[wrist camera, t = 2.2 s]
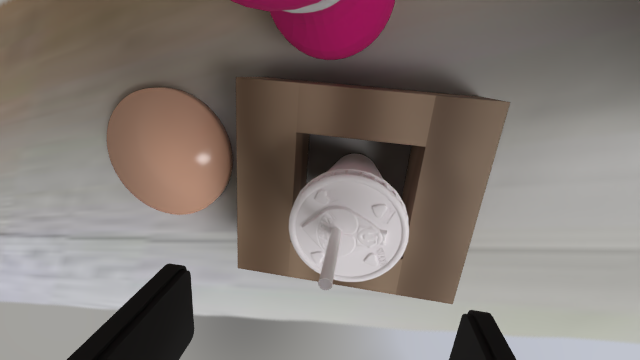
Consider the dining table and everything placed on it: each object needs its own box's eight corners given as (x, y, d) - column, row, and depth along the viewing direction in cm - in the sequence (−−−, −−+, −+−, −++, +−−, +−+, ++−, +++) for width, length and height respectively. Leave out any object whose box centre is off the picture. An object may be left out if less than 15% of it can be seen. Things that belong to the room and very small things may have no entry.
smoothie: (319, 132, 24) (260, 200, 11) (401, 140, 23) (442, 224, 10) (313, 206, 26) (259, 335, 13) (388, 215, 26) (410, 363, 12)
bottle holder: (479, 96, 22) (510, 102, 17) (437, 263, 26) (452, 304, 22) (262, 76, 23) (235, 77, 19) (259, 236, 28) (237, 268, 23)
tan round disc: (231, 93, 24) (226, 94, 23) (233, 217, 28) (229, 222, 27) (107, 81, 25) (97, 81, 24) (124, 201, 29) (116, 205, 28)
